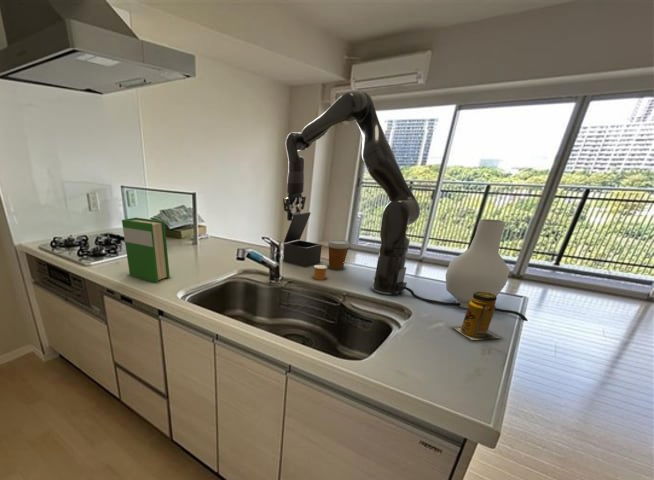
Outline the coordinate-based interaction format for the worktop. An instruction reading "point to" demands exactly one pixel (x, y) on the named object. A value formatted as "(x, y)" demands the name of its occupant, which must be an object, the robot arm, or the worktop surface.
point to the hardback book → (146, 248)
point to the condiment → (479, 317)
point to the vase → (479, 265)
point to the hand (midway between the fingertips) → (293, 219)
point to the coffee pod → (320, 272)
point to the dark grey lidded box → (302, 253)
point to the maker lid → (296, 226)
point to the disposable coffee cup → (337, 253)
